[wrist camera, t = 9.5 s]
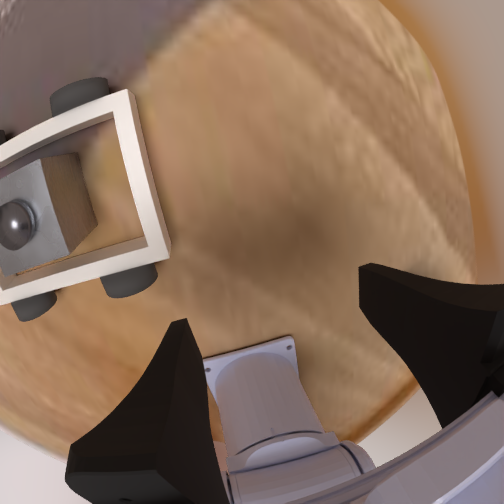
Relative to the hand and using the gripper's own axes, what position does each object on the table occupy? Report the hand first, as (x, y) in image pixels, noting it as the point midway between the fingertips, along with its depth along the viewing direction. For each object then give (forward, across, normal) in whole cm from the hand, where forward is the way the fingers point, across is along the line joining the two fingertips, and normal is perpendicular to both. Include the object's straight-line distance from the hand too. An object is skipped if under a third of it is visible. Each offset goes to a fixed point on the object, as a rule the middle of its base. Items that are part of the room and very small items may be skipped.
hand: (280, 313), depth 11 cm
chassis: (+9, +11, -6) cm, 16 cm away
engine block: (+10, +11, -6) cm, 16 cm away
